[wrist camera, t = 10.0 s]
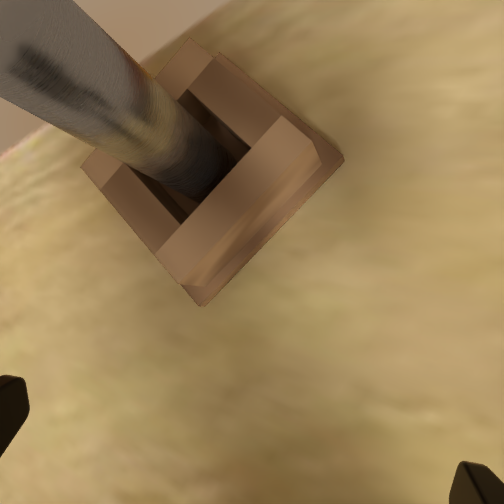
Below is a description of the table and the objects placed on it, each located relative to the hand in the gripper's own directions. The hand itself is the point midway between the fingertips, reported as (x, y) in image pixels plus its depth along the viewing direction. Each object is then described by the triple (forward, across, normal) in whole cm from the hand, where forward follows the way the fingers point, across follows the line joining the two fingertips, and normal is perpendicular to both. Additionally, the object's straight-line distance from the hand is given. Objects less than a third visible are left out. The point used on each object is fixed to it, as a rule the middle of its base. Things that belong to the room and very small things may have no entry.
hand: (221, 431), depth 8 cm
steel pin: (+15, +5, -3) cm, 16 cm away
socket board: (+16, +5, -2) cm, 17 cm away
